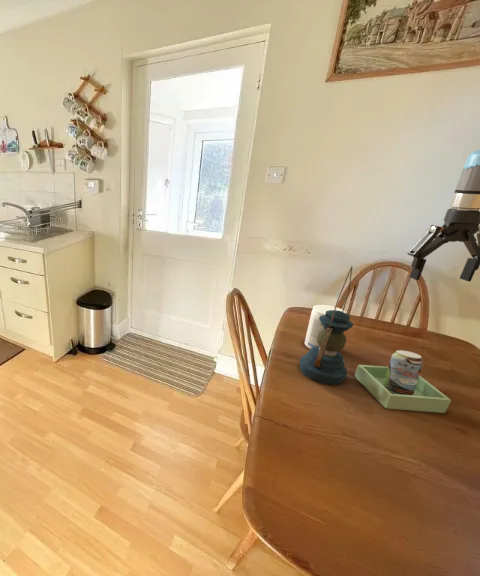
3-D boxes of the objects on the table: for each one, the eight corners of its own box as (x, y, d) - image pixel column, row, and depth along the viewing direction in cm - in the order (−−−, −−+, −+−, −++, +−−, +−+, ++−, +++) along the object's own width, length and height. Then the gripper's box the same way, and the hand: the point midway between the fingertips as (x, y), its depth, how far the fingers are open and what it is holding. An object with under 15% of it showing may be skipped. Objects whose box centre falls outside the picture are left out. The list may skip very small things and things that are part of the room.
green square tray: (404, 380, 93) (409, 367, 91) (444, 414, 80) (451, 400, 79) (353, 377, 95) (358, 364, 93) (385, 409, 82) (390, 395, 81)
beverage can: (390, 398, 85) (405, 360, 80) (375, 381, 91) (388, 345, 87) (418, 401, 83) (435, 363, 79) (401, 384, 90) (415, 348, 86)
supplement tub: (342, 355, 105) (355, 316, 100) (313, 355, 106) (324, 316, 101) (324, 340, 114) (335, 304, 109) (298, 340, 115) (307, 304, 110)
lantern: (336, 394, 88) (373, 277, 75) (290, 374, 97) (317, 267, 84) (350, 373, 96) (386, 265, 84) (307, 357, 105) (334, 257, 92)
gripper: (505, 207, 90) (474, 276, 98) (407, 207, 94) (385, 274, 101) (535, 210, 83) (499, 284, 91) (427, 210, 87) (402, 282, 95)
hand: (439, 279), depth 96 cm, fingers open, 13 cm apart
